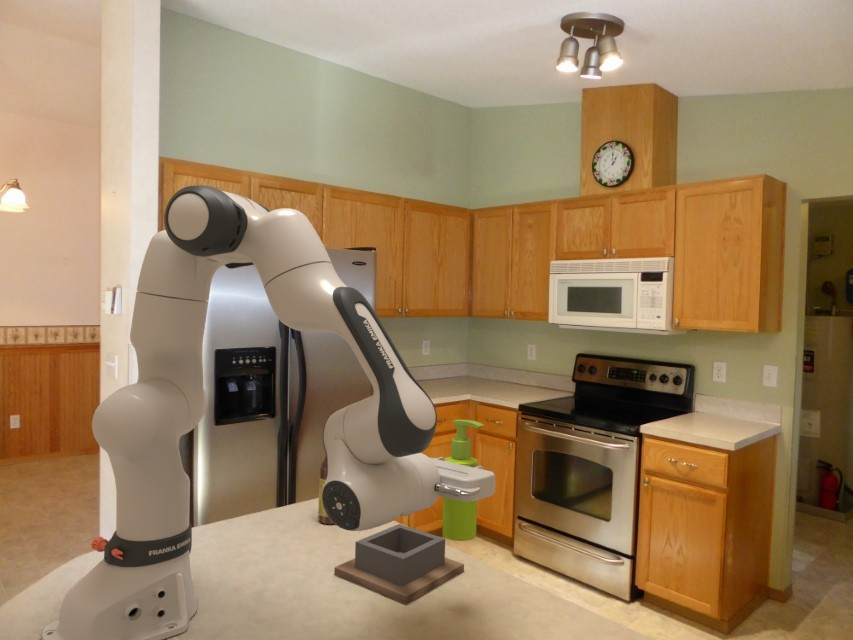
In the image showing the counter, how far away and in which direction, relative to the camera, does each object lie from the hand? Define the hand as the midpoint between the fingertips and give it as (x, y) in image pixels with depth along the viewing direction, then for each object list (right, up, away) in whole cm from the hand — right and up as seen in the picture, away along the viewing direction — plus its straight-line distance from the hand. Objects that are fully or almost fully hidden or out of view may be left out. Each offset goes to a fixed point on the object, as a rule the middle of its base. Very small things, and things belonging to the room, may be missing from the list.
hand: (462, 466), depth 105 cm
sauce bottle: (-29, -23, +40) cm, 55 cm away
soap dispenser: (0, -12, -1) cm, 12 cm away
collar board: (-11, -24, +13) cm, 30 cm away
